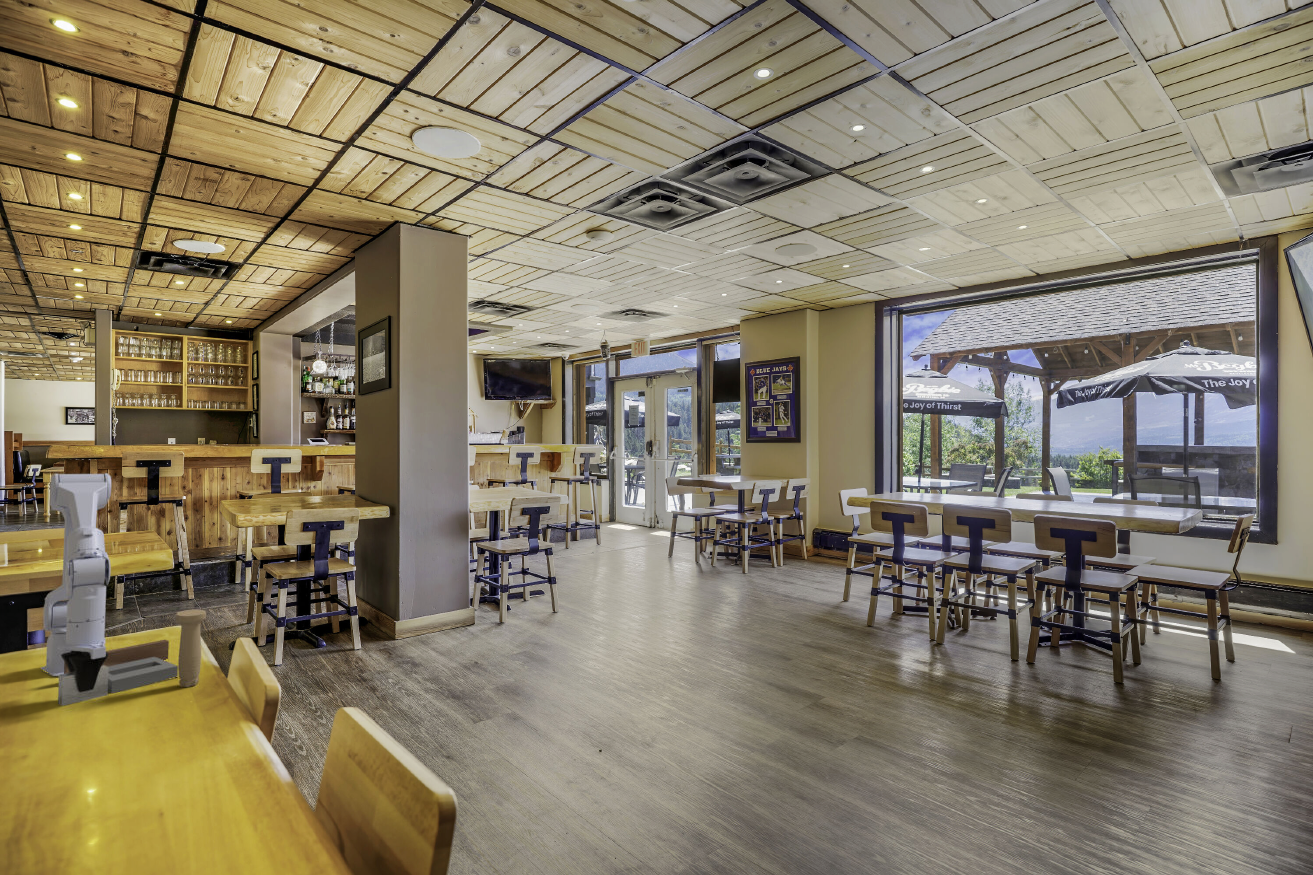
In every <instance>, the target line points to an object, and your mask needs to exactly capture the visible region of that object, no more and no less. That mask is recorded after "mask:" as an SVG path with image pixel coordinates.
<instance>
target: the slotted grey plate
mask: <svg viewBox="0 0 1313 875" xmlns="http://www.w3.org/2000/svg"><path fill="white" fill-rule="evenodd" d="M108 667H109V670H108V693H110V694H115V693H119V692H123V691H127V690H132V689H135V688H140V686H141V687H144V686H143V685H145V686H149V685H152V684H151V683H153V684H156V683H155V682H157V683H160V682H159V681H162V680H166V679H169V678H173V677H176V676H177V677H178V676H179V670H178V664H177V665H176V664H173V663H171V662H169V661H168V662H167V661H164V660H162V659H159V658H157V657H151V658H146V659H141V660H137V661H132V662H127V663H122V664H118V665H113V666H108ZM166 681H167V680H166ZM162 682H163V681H162ZM148 684H149V685H148Z"/></svg>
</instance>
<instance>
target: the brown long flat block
mask: <svg viewBox="0 0 1313 875" xmlns="http://www.w3.org/2000/svg"><path fill="white" fill-rule="evenodd" d="M169 645H170V640H167V639H161V640H155V641H151V642H147V643H145V642H144V643H141V644H135V645H131V646H130V645H129V646H125V647H120V648H114V649H110V650H106V652H107V653H108V657H107V658H106V660H105V661H104V663H103V665H105V666H107V667H108V666H113V665H118V664H122V663H127V662H132V661H137V660H141V659H146V658H151V657H157V658H159V659H162V660H166V659H168V660H169V648H170V647H169ZM103 665H102V666H103ZM65 673H69V670H68V667H67V665H66V663H65V661H64V674H65Z"/></svg>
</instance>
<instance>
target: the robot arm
mask: <svg viewBox="0 0 1313 875" xmlns="http://www.w3.org/2000/svg"><path fill="white" fill-rule="evenodd" d="M49 484H50V485H49V506H50V507H51V508H50V509H51V510H54V511H56V512H57V511H58V512H59V513H60V512H61V514H62V518H63V519H64V533H63V561H62V563H63V564H62V582H61V583H62V584H61V585H60V586H59V587H57V588H55V589H54V590H52V591H50V592H49V593H48V594H47V595H46V597H45V598H44V605H43V613H42V614H43V618H42V619H43V623H42V624H43V630H45V631H46V632H50V634H49V635H48V638H47V639H46V640H47V641H46V663H45V666H41V667H40V668H41V669H42V670H44V671H46V672H48V673H49V674H48V673H47V674H48V675H50V676H52V677H53V676H58V677H59V675H60V674H64V661H65V663H66V665H67V667H68V670H69V673H70V672H74V671H75V674H76V680H77V687H78V690H79V692H85V691H89V690H93V689H94V686H95V683H96V680H97V677H98V674H99V671H100V669H101V666H102V665H103V663H104V661H105V660H106V658H107V657H108V653H107V652H106V651H107V646H105V645H106V638H105V631H106V630H105V629H106V627H105V626H106V603H107V602H106V600H107V586H109V582H110V579H111V572H112V570H111V561H110V556H109V555H108V552H106V546H105V535H104V532H103V531H102V530H101V529H99V528H97V515H98V514H97V513H98V510H101V509H103V508H104V509H105V507H106V505H108V502H109V500H110V498H111V496H112V476H111V475H110V474H109V473H107V472H106V473H67V474H66V473H64V474H63V473H62V474H61V473H60V474H59V473H54V474H53V475H51V476H50V483H49ZM41 669H40V670H41ZM42 670H41V671H42ZM44 671H43V672H44ZM46 672H45V673H46Z"/></svg>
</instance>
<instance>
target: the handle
mask: <svg viewBox="0 0 1313 875" xmlns="http://www.w3.org/2000/svg"><path fill="white" fill-rule="evenodd" d="M175 615H176V617H175V620H176V622H177V623H178V624H180V626H181V627H180V628H181V629H180V640H179V651H178V662H177V663H178V664H177V666H178V678H179V679H180V680H179V681H178V682H179V687H180V688H189V687H194V686H196V685H197V684H199V680H200V672H201V668H202V666H201V665H202V664H201V663H202V641H201V640H202V638H201V624H202V623H201V622H202V621H204V620H206V618H207V611H206V610H204V609H187V610H181V611H178V612H176V614H175Z"/></svg>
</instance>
